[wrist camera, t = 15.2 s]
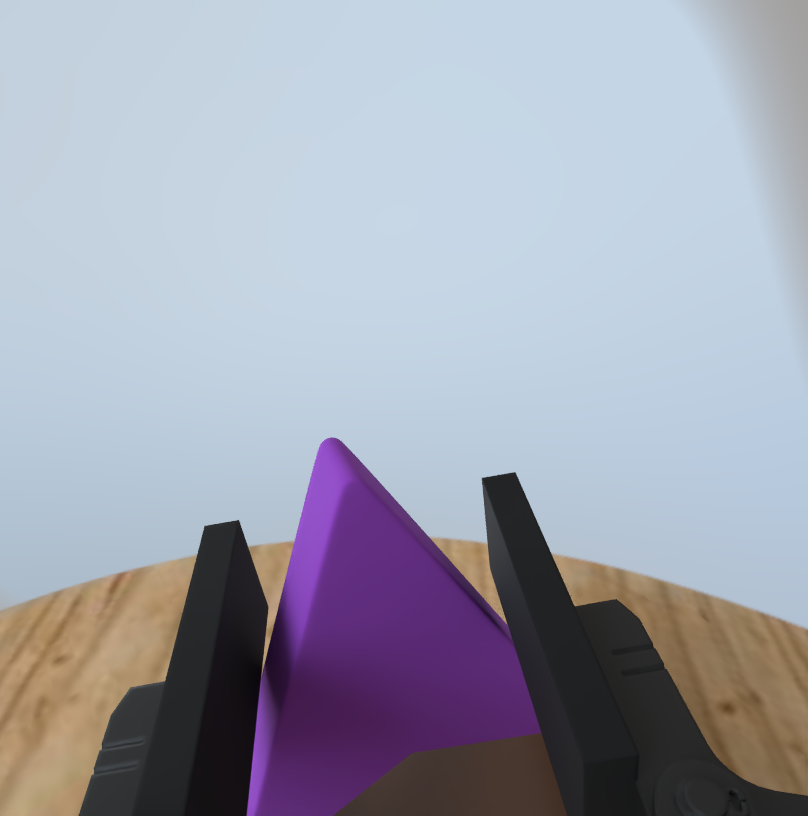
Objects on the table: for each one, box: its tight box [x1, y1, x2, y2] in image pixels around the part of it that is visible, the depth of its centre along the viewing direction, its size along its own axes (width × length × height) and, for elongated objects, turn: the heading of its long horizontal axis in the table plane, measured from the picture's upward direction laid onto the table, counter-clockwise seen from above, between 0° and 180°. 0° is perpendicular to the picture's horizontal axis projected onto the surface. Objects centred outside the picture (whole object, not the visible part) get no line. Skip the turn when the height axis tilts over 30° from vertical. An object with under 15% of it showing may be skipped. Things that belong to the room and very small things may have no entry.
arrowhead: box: [247, 438, 541, 816], centre depth 15 cm, size 10×2×10 cm
